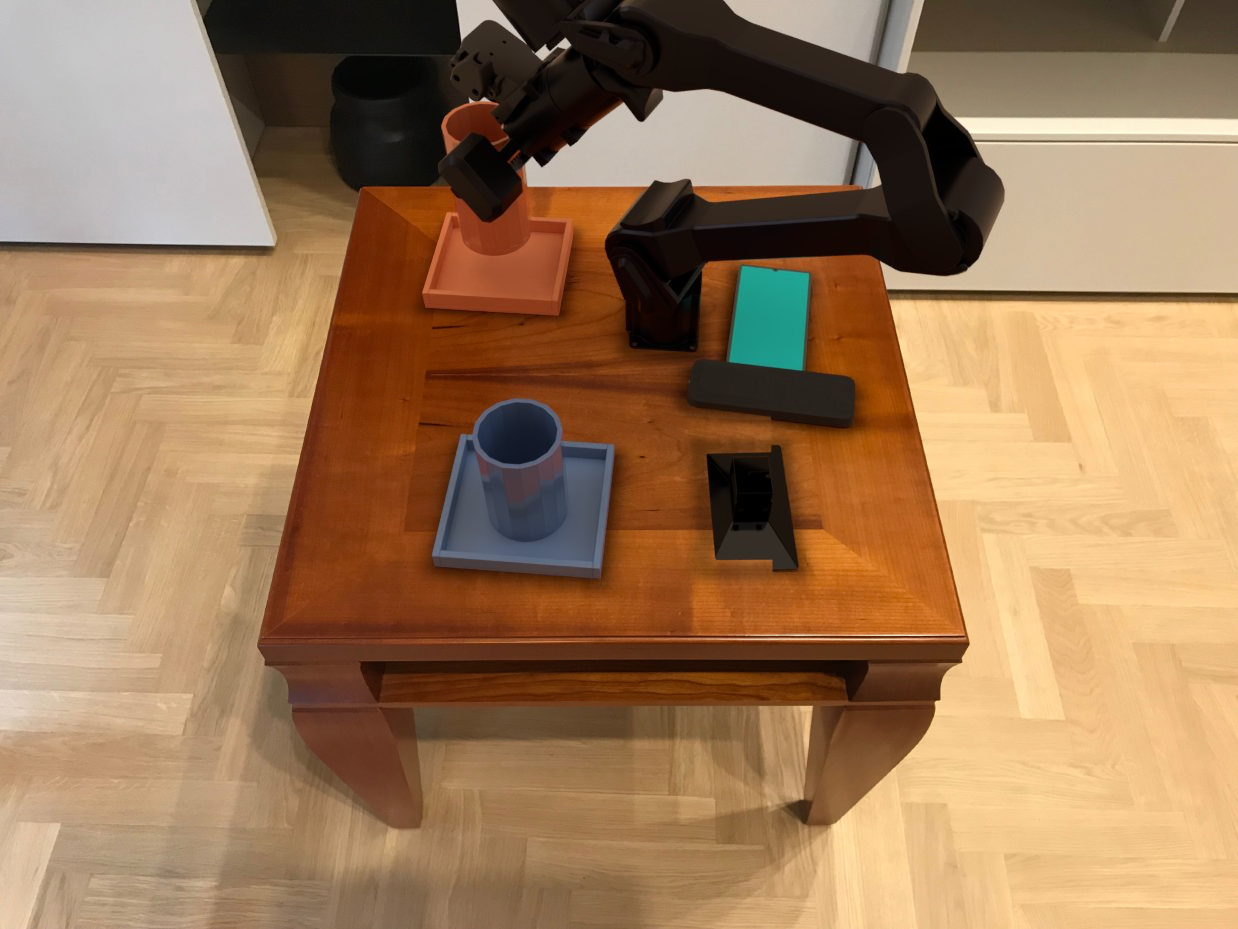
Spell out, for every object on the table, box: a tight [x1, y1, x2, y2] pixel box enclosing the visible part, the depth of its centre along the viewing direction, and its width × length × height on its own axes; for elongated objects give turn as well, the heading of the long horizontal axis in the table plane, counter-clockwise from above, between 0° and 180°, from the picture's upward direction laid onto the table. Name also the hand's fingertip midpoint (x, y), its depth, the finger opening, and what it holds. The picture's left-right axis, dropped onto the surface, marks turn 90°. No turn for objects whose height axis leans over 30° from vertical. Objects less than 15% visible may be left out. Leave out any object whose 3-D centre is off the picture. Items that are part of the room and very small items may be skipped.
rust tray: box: [421, 211, 574, 317], centre depth 95 cm, size 13×12×2 cm
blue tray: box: [431, 433, 616, 580], centre depth 77 cm, size 13×12×2 cm
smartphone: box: [725, 264, 813, 371], centre depth 90 cm, size 7×1×15 cm
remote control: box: [686, 358, 856, 428], centre depth 85 cm, size 5×2×15 cm
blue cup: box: [471, 397, 569, 542], centre depth 74 cm, size 7×7×10 cm
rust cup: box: [440, 100, 532, 256], centre depth 87 cm, size 7×7×12 cm
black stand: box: [705, 444, 800, 572], centre depth 77 cm, size 12×7×5 cm, turn 1°
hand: (476, 171), depth 87 cm, fingers closed on rust cup, 7 cm apart
